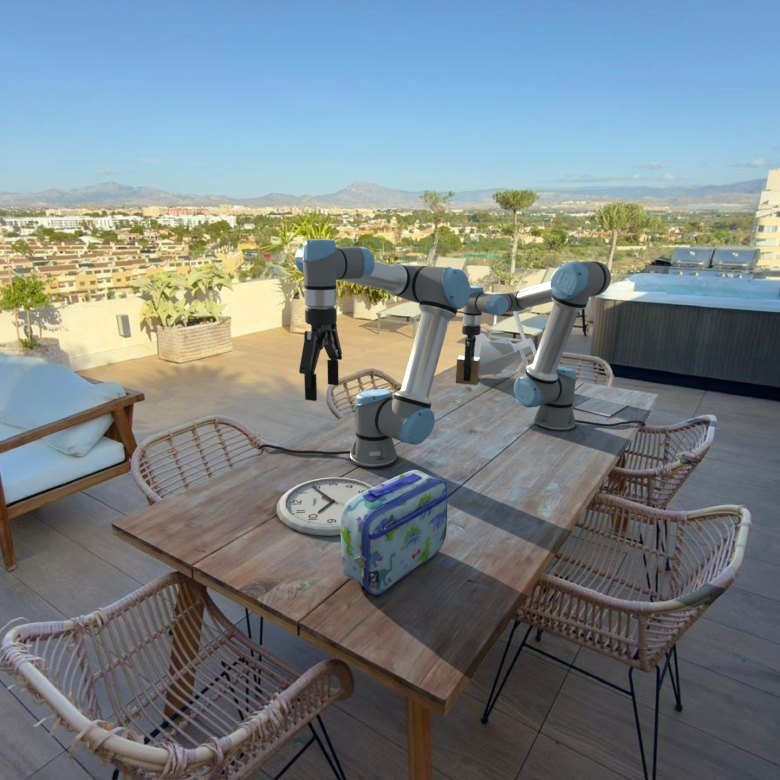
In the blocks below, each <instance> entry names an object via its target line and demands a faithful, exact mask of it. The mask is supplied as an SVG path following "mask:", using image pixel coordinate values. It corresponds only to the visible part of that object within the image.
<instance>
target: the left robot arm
mask: <svg viewBox="0 0 780 780" xmlns="http://www.w3.org/2000/svg"><path fill="white" fill-rule="evenodd" d="M336 244H337V243H336V241H335V240H334V239H330V238H329V239H327V238H324V239H323V238H321V239H320V238H309V239H306V240H304V242H303V245H302V246H301V247H299V248H298V249H297V251H296V253H295V259H294V262H295V266H296V268H297V270H298V271H299V272H301V274H303V286H304V287H303V288H304V289H303V290H304V291H303V293H302V294H303V296H304V305H305V306H306V307H305V308H304V322H305V324H308V325H310V330H305V331H304V335H303V344H302V345H303V347H302V351H301V357H300V363H299V370H298V371H299V374H302V375H303V376H304V400H305V401H311V402H317V400H318V389H317V387H318V386H317V385H318V384H317V373H315V372H316V368H317V365H318V361H319V358H320V354H321V351H322V350H325V352H326V354H327V357H328V359H327V362H326V364H327V385H330V386H339V383H340V382H339V380H340V379H339V361H342V360H343V356H342V354H343V351H342V348H341V342H340V338H339V334H338V324H337V322H338V314H337V313H338V310H337V307H335V306H337V305H338V299H337V298H338V297H337V295H338V294H337V281H341V282H346V283H351V284H355V285H360V286H365V287H369V288H373V289H379V290H381V291H385V292H386V293H387V294H388V295H390V296H394V297H398V298H401V299H404V300H407V301H410V302H413V303H417V304H418V308H419V311H420V312H421V314H420V315H421V316H420V319H419V323H418V326H417V327H418V328H417V330H416V333H415V336H414V341H413V344H412V348H411V352H410V354H409V355H410V356H409V358H408V363H407V367H406V369H405V370H406V371H405V374H404V376H403V380H402V385H401V388H400V389H399V390H397V391H396V392H395V393H394V395H393V392H392V391H391V390H390V389H386V388H385V389H384V388H375V389H368V390H363V391H361V392H359V393H358V394H357V395H356V396H355V405H354V416H355V417H354V420H355V421H354V423H355V437H354V441H353V443H352V447H351V449H350V450H338V451H326V450H325V451H324V450H300V449H289V448H286V447H283V446H278V445H273V444H267V443H263V444H260V445H259V446H258V447H257V450H261V449H263V448H268V449H269V448H270V449H273V450H278V451H279V450H280V451H283V452H287V453H290V454H291V453H292V454H315V455H331V456H335V455H337V456H338V455H349V460H350V462H351V463H352V464H353V465H355V466H357V467H361V468H366V469H381V468H386V467H389V466H392V465H393V464H394V463H396V462H397V459H398V458H397V457H398V455H397V450H396V447H395V443H394V441H393V439H394V440H397V441H400V442H401V443H402V444H403V443H405V444H409V445H413V446H414V445H419V444H422V443H423V442H424V441H425V440H427V439H428V438H429V436H430V435H431V433H432V432H433V429H434V427H435V423H436V418H435V413H434V412H433V411H432V410H431V407H432V401H431V399H430V392H431V389H432V386H433V382H434V378H435V374H436V370H437V367H438V363H439V360H440V356H441V352H442V349H443V345H444V341H445V338H446V335H447V332H448V331H447V330H448V327H449V324H450V321H451V320H453V319H454V318H456V317H457V314H458V310H461V309H462V310H463V309H464V307H465V305H466V304H467V303H468V300H469V297H470V286H471V285H470V281H469V278H468V275H467V274H466V273H465V272H464V271H463V270H462V269H460V268H454V267H451V266H446V267H444V266H433V265H407V264H400V263H393V264H387V263H384V262H380V261H376V260H375V257H374V254H373V252H372V251H371V250H370V249H369V248H367V247H362V246H352V247H351V246H337V245H336Z"/></svg>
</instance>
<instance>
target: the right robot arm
mask: <svg viewBox="0 0 780 780" xmlns="http://www.w3.org/2000/svg"><path fill="white" fill-rule="evenodd" d="M611 281H612V274H611V271H610V269H609V267H608V266H607V265H606V264H604V263H602V262H600V261H596V260H594V261H593V260H592V261H578V260H577V261H576V260H575V261H569V262H565V263H563V264H560V265H559V266H557V268H556V269H554V271H553V272H552V275H551V277H550V281H547V282H543V283H540V284H537V285H534V286H533V285H532V286H529V287H527V288H523V289H520V290H517V291H512V292H503V293H485V292H484V287H483V286H480V285H479V286H478V285H470V297H469V300H468V303H467V304H466V305H465V307H464V308H462V310H463V311H462V315H461V319H462V326H461V334H462V335H465V336H466V337H465V339H464V356H465V358H464V364H463V366H464V380H463V381H470V375H471V357H474V351H475V342H476V337H475V336H476V335H479V334H481V331H482V326H481V325H482V317H483V313H484V314H488V315H489V314H490V315H492V316H502V315H504V314H505V313H510V312H513V311H517V312H521V311H524V310H526V309H529V308H533V307H537V306H540V305H544V304H545V305H546V304H548V303H552V302H553V305H552V308H551V311H550V314H549V317H548V318H547V322H546V325H545V328H544V330H543V333H542V336H541V339H540V341H539V344H538V347H537V349H536V351H537V353H536V355H535V358H533V361H532V363H531V364H528V366H527V368H526V370H525V371H524V373H523V376H520V377H518V378H517V379H516V380H515V381H514V384H513V393H514V395H515V398H516V400H517V401H518V403H519V404H520V405H522V406H523V407H526V408H538V410H537V411H536V413H535V415H534V424H535V425H536V426H537V427H539V428H542V429H544V430H549V431H556V432H567V431H572V430H574V429H575V428H576V423H577V424H586V425H592V426H597V427H598V426H599V427H617V426H620V425H630V424H640V425H642V426H643V427H646V426H647V425H646V423H645V422H644V421H641V420H636V419H633V420H628V421H619V422H615V423H601V422H593V421H587V420H578V419H576V418H575V417H576V416H575V413H574V407H573V405H574V398H575V390H576V383H577V372H576V371H575V369H572V368H571V367H570V368H569V367H566V366H561V365H560V362H561V359H562V357H563V354H564V351H565V349H566V346H567V344H568V342H569V339H570V336H571V334H572V330H573V329H574V326H575V323H576V320H577V318H578V315H579V313H580V311H582V310H584V309H586V307H587V305H588V303H589V300H590V298H591V297H598V296H600V295H601V294H603V293H604V292H606V291H607V289H608V288H609V287H610V284H611Z"/></svg>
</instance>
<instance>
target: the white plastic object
mask: <svg viewBox="0 0 780 780" xmlns="http://www.w3.org/2000/svg"><path fill="white" fill-rule="evenodd" d="M512 314H513V317H514V320H515V322H516V326H517V328H518V333H519V335H520V338H521V341H519V342H516V343H513V342H512V341H511V339H510V338H509V337H508V336H507V337H503V338H498V339H493V340H490V339H489V338H488V336H486V334H485V333H480V334H479V335H475V337H476V342H475V351H474V357H480V369H479V377H481V376H489V375H493V376H497V375H500V374H502V373H503V371H504V370H505V369H507V367H509V366H510V365H512V364H513V363H515V362H516V361H517V360H519V359H520V358H521V361H522V364H523V367H524V370H525V371H526V368H527V366H528V365H529V362H528V358H527V354H529V353H532V356H533V357H534V358H535V355H536V353H537V349H536V346H535V345H536V344H535V343H534V341H533V339H532V338H531V337H529V338H527V337H526V334H525V331H524V327H523V325H522V322H521V318H520V315H519V313H518V311H512ZM534 358H533V359H534Z"/></svg>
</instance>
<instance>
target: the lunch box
mask: <svg viewBox="0 0 780 780" xmlns="http://www.w3.org/2000/svg"><path fill="white" fill-rule="evenodd" d="M447 528H448V487H447V483H446V481H445V480H444V479H442V478H434V477H432V476H431V475H429V474H427V473H425V472H424V471H421V470H419V469H412V470H409V471H406V472H404V473H401V474H399V475H397V476H394V477H393V478H390V479H388V480H386V481H384V482H382V483H380V484H378V485H374V487H373V488H371V489H369V490H367V491H365V492H363V493H361V494H358V495H356V496H355V497H353V498H351V499H350V500H349V501H348V502H347V503H346V505H345V506H344V508H343V510H342V513H341V519H340V533H341V535H340V548H341V553H340V554H341V555H340V556H341V568H342V572H343V574H344V576H345V577H347V578H348V579H350V580H351V581H354V582H356V583H357V584H358V585H360V586H362V587H363V588H364V589H365V590H366V592H368V593H370V594H372V595H375V596H378V595H381V594H383V593H384V592H386V591H387V590H388V589H390V587H392V586H394V585H395V583H398V582H399V581H400V580H401V579H403V578H405V577H406V576H408V574H410V573H411V572H413V571H414V570H415V569H416V568H417V567H419V566H420V565H422V564H423V563H425V562H426V561H428V560H429V559H431V558H433V557H434V556H435V555H437V553H439V552H440V550H441V548H442V546H443V545H444V542H445V539H446V536H447V530H448V529H447Z"/></svg>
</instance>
